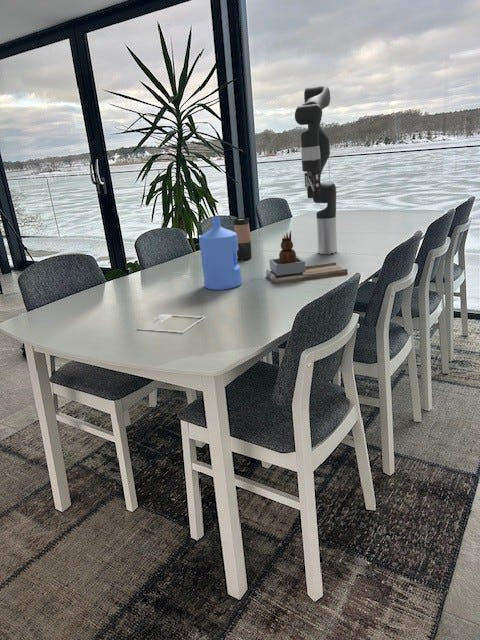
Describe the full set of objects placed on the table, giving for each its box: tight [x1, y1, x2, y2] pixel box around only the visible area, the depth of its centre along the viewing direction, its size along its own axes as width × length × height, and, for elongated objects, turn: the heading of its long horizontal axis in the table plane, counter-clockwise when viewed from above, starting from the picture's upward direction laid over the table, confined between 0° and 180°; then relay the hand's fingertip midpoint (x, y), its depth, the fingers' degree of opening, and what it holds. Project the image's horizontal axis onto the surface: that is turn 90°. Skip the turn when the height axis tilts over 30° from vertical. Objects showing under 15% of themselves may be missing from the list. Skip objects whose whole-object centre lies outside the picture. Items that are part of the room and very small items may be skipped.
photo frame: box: [147, 313, 206, 334], centre depth 167 cm, size 15×1×18 cm
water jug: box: [198, 216, 243, 291], centre depth 202 cm, size 16×16×28 cm
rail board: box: [266, 261, 349, 285], centre depth 209 cm, size 14×31×3 cm, turn 100°
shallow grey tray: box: [268, 255, 306, 278], centre depth 207 cm, size 12×12×6 cm
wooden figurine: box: [278, 230, 297, 264], centre depth 205 cm, size 7×6×15 cm
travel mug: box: [233, 217, 252, 261], centre depth 248 cm, size 8×8×20 cm
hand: (313, 199), depth 207 cm, fingers open, 8 cm apart
